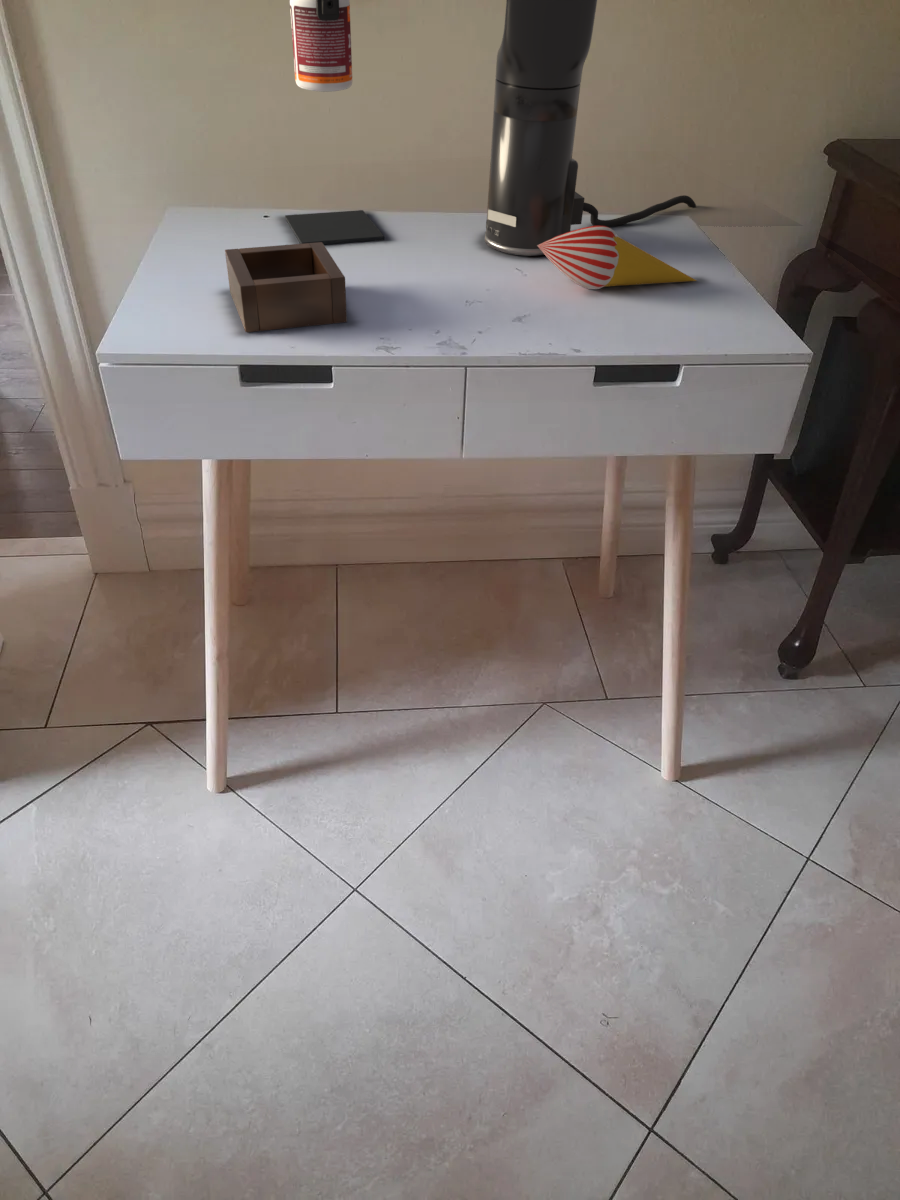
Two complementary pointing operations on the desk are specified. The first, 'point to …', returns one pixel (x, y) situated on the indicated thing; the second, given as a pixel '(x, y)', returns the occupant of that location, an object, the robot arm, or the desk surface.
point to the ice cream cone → (606, 260)
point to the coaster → (333, 227)
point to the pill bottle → (321, 47)
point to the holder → (286, 286)
